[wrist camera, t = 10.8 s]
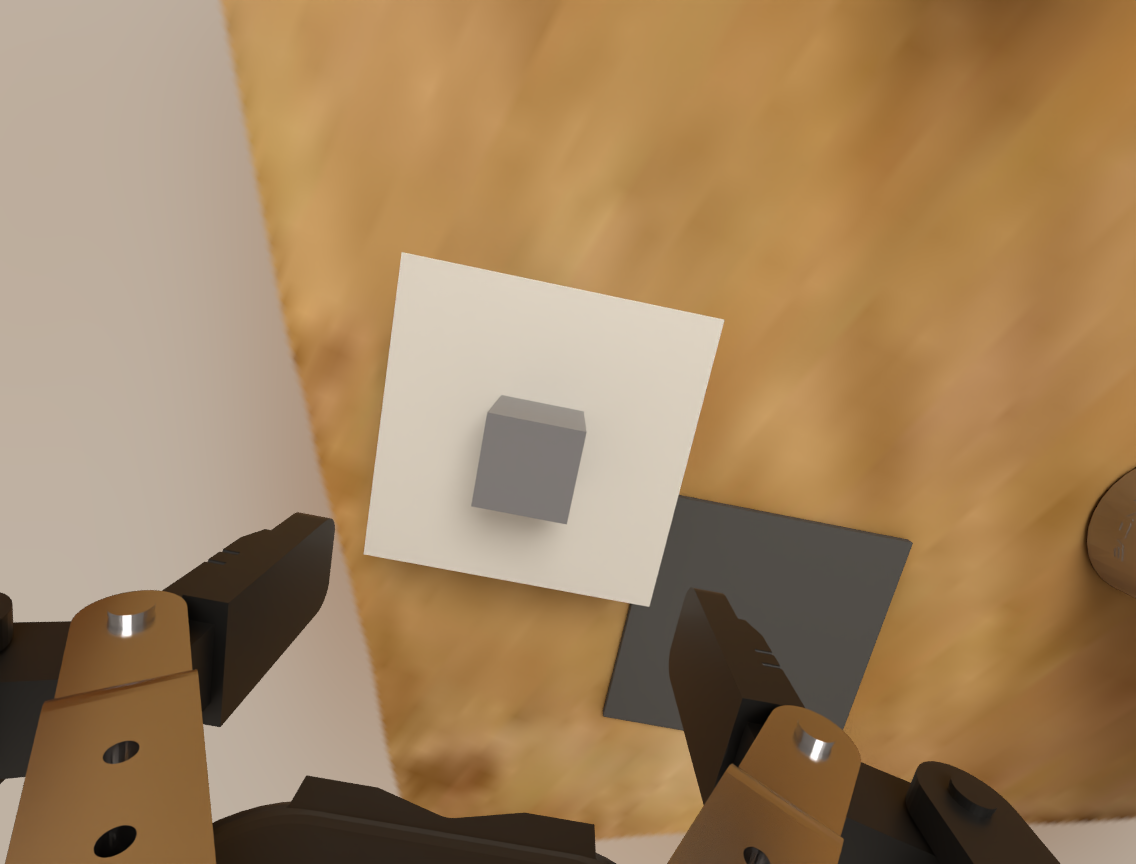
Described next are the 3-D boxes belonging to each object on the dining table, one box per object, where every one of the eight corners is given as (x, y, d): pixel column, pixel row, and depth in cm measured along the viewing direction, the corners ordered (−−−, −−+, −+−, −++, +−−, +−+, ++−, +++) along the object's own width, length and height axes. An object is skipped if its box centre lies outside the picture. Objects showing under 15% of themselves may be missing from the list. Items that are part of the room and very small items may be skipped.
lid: (719, 319, 25) (758, 321, 20) (646, 598, 28) (664, 662, 23) (407, 253, 25) (363, 238, 19) (369, 547, 28) (323, 601, 23)
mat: (907, 539, 33) (912, 543, 33) (829, 750, 36) (832, 756, 36) (658, 491, 32) (660, 493, 32) (602, 710, 36) (603, 716, 35)
